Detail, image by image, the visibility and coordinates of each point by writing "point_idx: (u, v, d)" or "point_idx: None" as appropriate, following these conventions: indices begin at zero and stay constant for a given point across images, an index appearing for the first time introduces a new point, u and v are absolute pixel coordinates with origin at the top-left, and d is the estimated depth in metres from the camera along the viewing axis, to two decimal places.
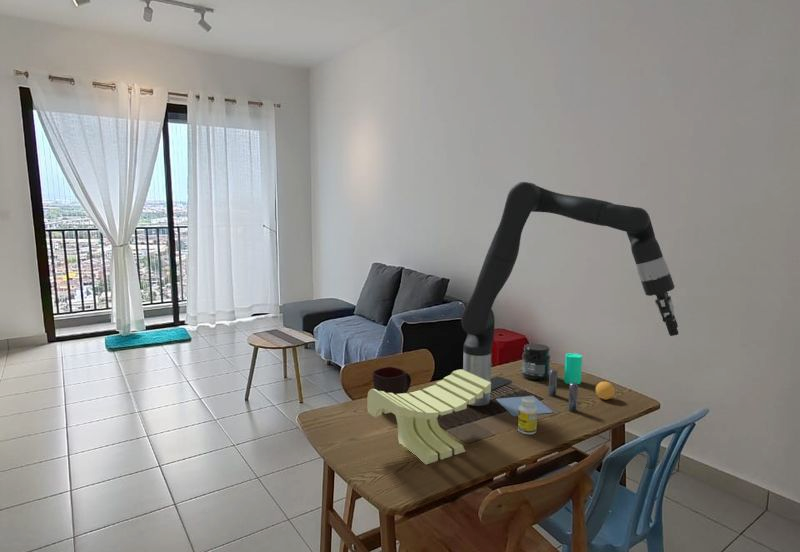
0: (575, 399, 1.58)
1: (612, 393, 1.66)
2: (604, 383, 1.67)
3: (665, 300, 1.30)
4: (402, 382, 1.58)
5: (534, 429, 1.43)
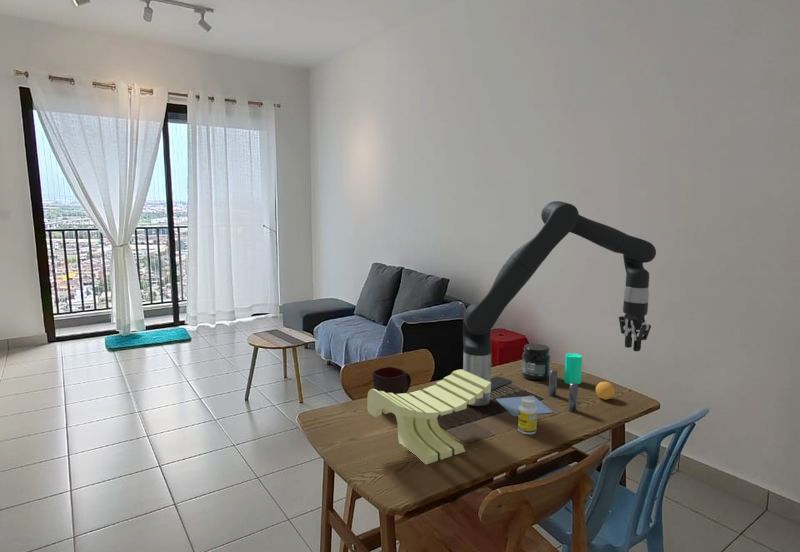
0: (575, 399, 1.58)
1: (612, 393, 1.66)
2: (604, 383, 1.67)
3: (650, 326, 1.61)
4: (402, 382, 1.58)
5: (534, 429, 1.43)
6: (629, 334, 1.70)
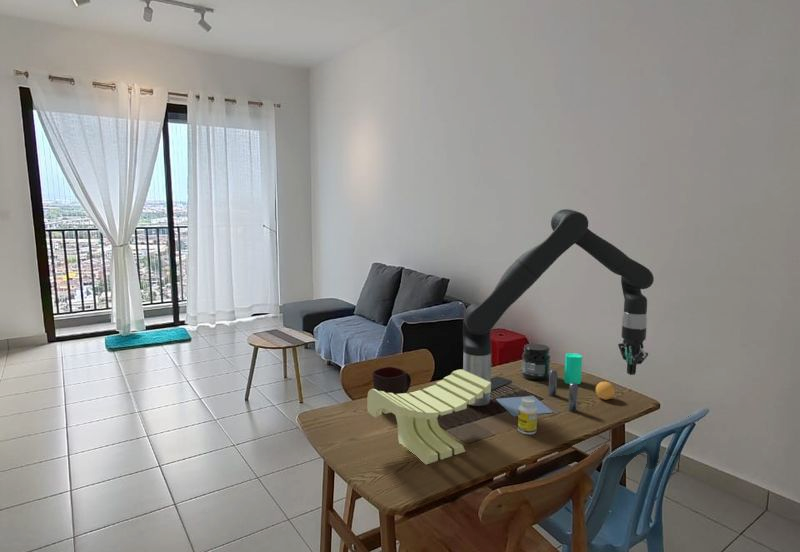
0: (575, 399, 1.58)
1: (612, 393, 1.66)
2: (604, 383, 1.67)
3: (647, 355, 1.63)
4: (402, 382, 1.58)
5: (534, 429, 1.43)
6: None
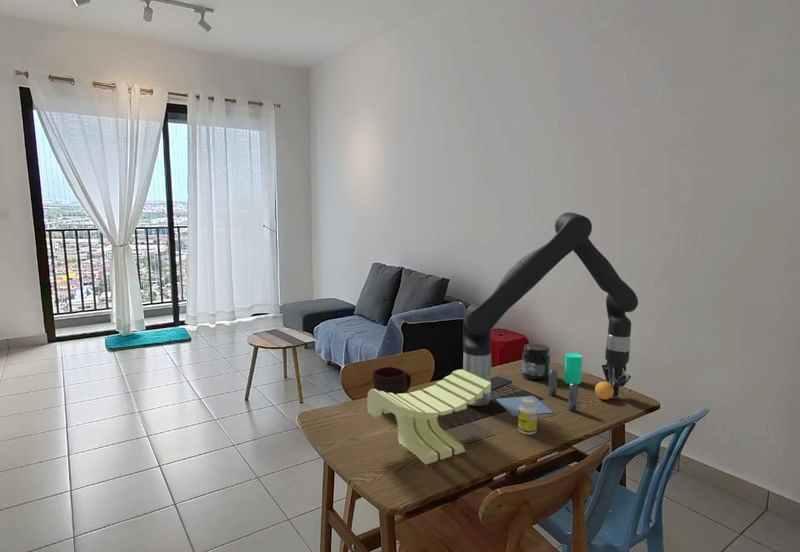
0: (575, 399, 1.58)
1: (611, 393, 1.66)
2: (603, 383, 1.67)
3: (629, 378, 1.63)
4: (402, 382, 1.58)
5: (534, 429, 1.43)
6: None
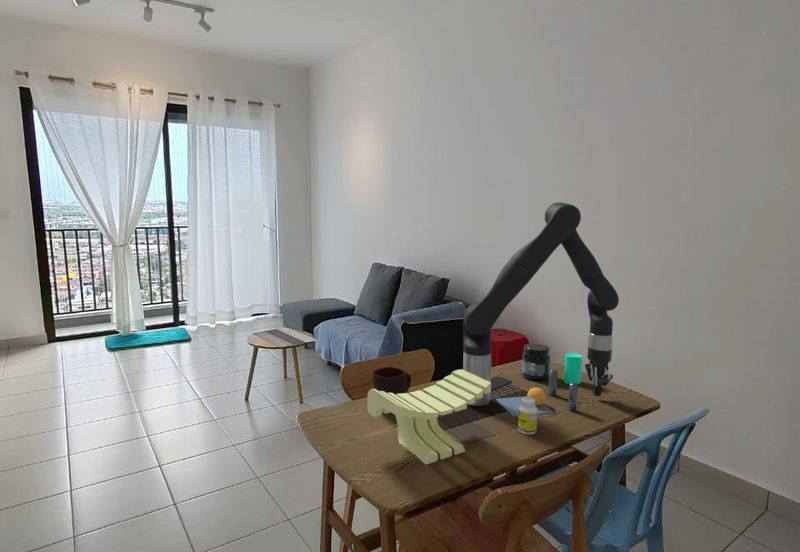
0: (575, 399, 1.58)
1: (539, 399, 1.60)
2: None
3: (611, 377, 1.61)
4: (402, 382, 1.58)
5: (534, 429, 1.43)
6: None
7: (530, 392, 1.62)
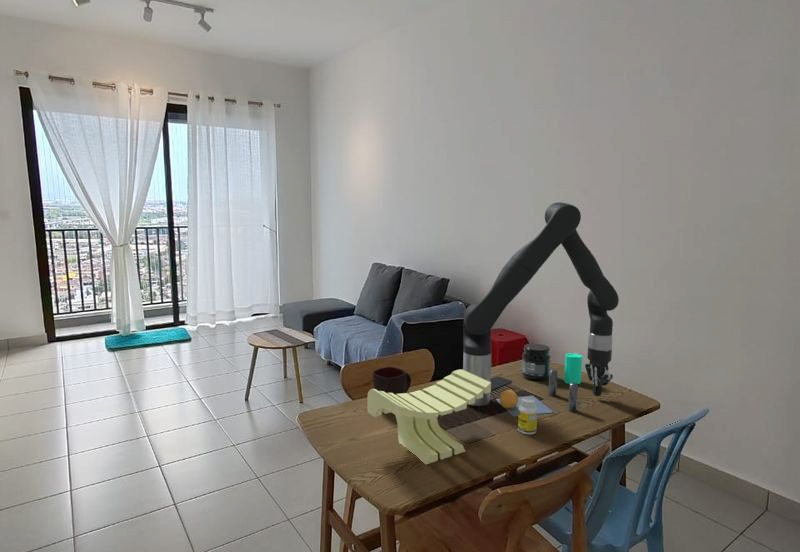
0: (575, 399, 1.58)
1: (514, 403, 1.58)
2: (514, 392, 1.60)
3: (611, 377, 1.61)
4: (402, 382, 1.58)
5: (534, 429, 1.43)
6: None
7: None
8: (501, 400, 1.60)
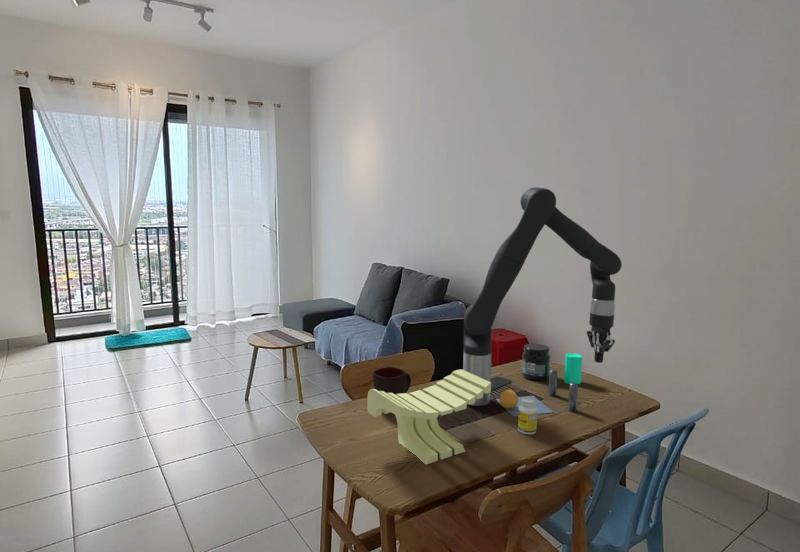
0: (575, 399, 1.58)
1: (514, 403, 1.58)
2: (514, 392, 1.60)
3: (613, 342, 1.60)
4: (402, 382, 1.58)
5: (534, 429, 1.43)
6: None
7: None
8: (501, 400, 1.60)
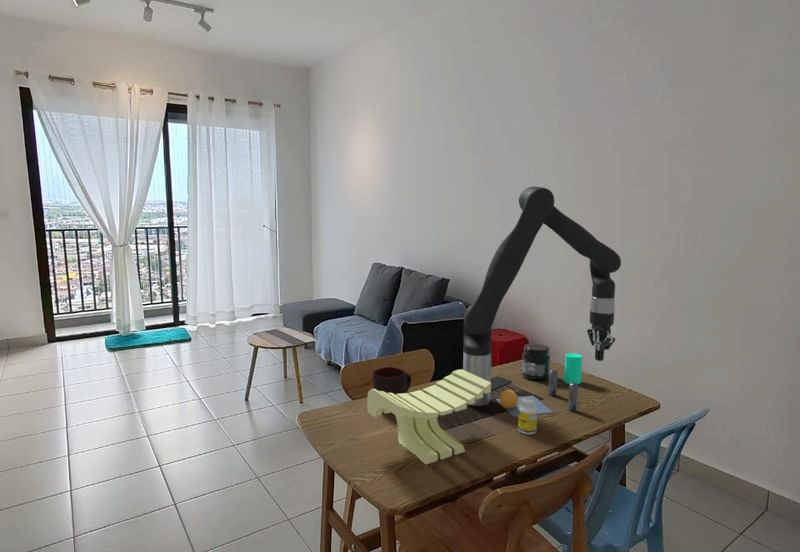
0: (575, 399, 1.58)
1: (514, 403, 1.58)
2: (514, 392, 1.60)
3: (614, 340, 1.59)
4: (402, 382, 1.58)
5: (534, 429, 1.43)
6: None
7: None
8: (501, 400, 1.60)
